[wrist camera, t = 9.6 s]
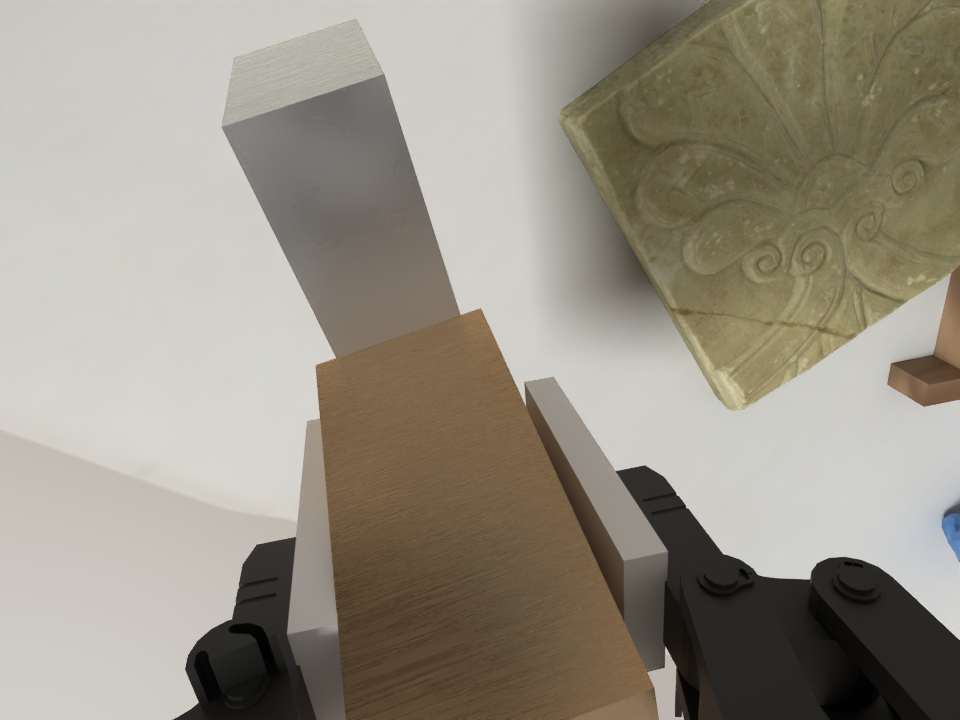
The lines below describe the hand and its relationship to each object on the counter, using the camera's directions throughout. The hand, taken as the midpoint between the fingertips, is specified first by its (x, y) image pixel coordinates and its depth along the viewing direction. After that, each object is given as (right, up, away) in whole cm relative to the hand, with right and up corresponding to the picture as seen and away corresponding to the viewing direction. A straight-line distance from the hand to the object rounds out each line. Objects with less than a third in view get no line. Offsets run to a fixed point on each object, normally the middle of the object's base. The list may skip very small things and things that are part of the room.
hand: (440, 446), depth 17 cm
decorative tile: (+17, +12, +19) cm, 29 cm away
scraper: (-2, +4, +4) cm, 6 cm away
